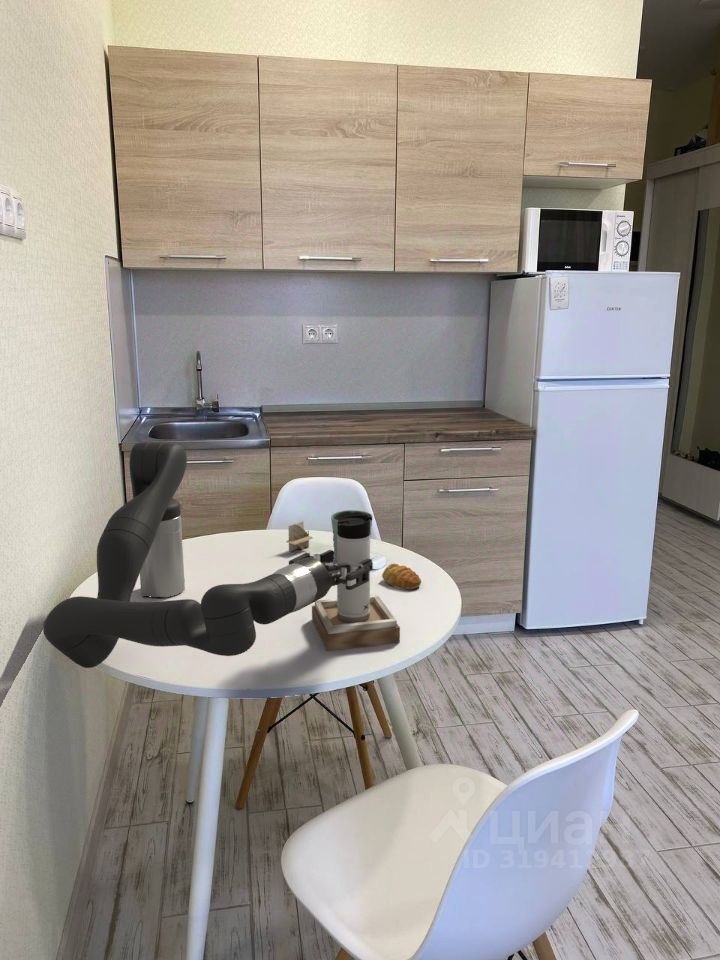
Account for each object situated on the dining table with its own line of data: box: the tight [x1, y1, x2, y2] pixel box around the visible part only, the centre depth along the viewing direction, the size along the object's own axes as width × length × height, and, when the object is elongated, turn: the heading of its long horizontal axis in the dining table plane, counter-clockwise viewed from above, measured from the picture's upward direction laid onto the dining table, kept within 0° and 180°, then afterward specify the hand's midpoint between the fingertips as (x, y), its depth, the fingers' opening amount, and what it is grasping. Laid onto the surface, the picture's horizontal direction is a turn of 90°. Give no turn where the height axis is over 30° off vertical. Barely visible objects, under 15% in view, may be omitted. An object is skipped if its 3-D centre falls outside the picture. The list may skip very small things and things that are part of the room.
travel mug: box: [336, 515, 373, 623], centre depth 135 cm, size 6×7×20 cm
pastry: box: [381, 563, 422, 590], centre depth 162 cm, size 9×7×4 cm
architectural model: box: [285, 520, 314, 552], centre depth 183 cm, size 3×7×7 cm, turn 142°
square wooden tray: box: [311, 594, 401, 652], centre depth 137 cm, size 14×14×4 cm
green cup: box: [331, 509, 373, 564], centre depth 174 cm, size 10×10×12 cm
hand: (351, 559), depth 132 cm, fingers open, 8 cm apart
